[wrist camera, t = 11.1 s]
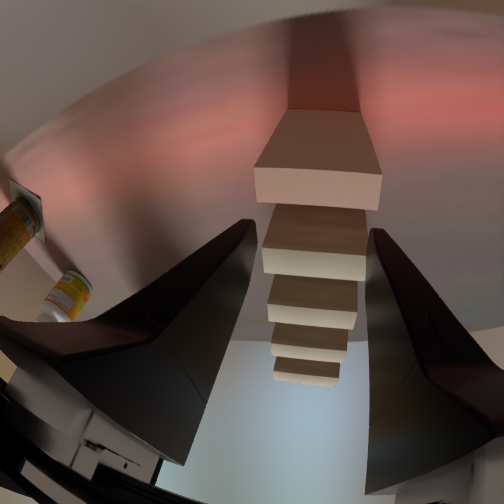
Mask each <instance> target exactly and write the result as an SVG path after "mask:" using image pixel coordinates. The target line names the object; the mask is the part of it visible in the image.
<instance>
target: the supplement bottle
mask: <svg viewBox="0 0 504 504" xmlns="http://www.w3.org/2000/svg"><path fill="white" fill-rule="evenodd" d="M91 295H92V288H91V286H90V284H89V283H88V281H87V280H86V279H85V278H84V277H83V276H81V275H80V274H78V273H77V272H75V271H71V270H70V271H67V272H66V273H65V274H64V275H63V276H62V277H61V279H60V280H59V281H58V283H57V284H56V286H55V287H54V288H53V289H52V290H51V292H50V293H49V294H48V296H47V297H46V299H45V300H44V301H43V303H42V304H41V311H42V314H40V315H39V316H38V317H37V319H36V321H35V322H74V320H75V319H76V317H77V316H78V314H79V313H80V311H81V310H82V308H83V307H84V305H85V304H86V303H87V301H88V300H89V298H90V297H91Z"/></svg>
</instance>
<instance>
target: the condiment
mask: <svg viewBox="0 0 504 504" xmlns="http://www.w3.org/2000/svg"><path fill="white" fill-rule="evenodd" d="M9 185H10V193H11V199H12V203H11V204H9V205H8V206H7V207H6V208H5V209H4V210H3V211H2V212H1V213H0V272H1V271H2V270H3V269H4V268H5V267H6V266H7V265H8V263H9V262H10V261H11V260H12V259H13V258H14V257H15V255H17V253H18V252H19V251H20V250H21V249H22V248H23V247H24V246H25V245H26V244H27V243H28V242H29V241H30V240H31V239H32V238H33V237H34V236H36V237H37V238H38V239H40V240H41V241H43V242H44V243H45V234H44V225H43V221H42V210H41V202H40V199H39V198H37V197H36V196H35V195H33V194H32V193H30V192H29V191H28V190H26V189H25V188H23V187H22V186H20V185H18V184H17V183H15V182H14V181H12V180H10V179H9ZM19 194H20V196H19ZM18 196H19V197H18Z"/></svg>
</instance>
